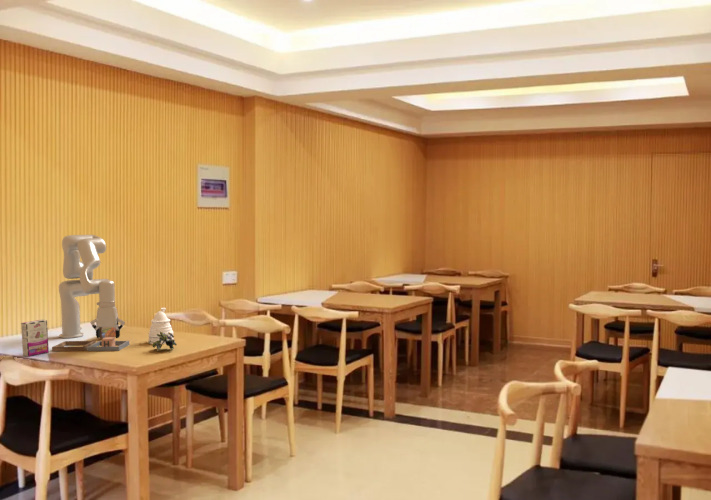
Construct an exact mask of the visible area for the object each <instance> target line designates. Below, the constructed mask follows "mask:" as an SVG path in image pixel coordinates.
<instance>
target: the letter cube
mask: <svg viewBox="0 0 711 500" xmlns="http://www.w3.org/2000/svg"><path fill="white" fill-rule="evenodd" d="M101 341H102V345H101V347H111V346H116V345H115V341H116V337H105V338H103V339H101Z"/></svg>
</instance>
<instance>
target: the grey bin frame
mask: <svg viewBox="0 0 711 500" xmlns="http://www.w3.org/2000/svg"><path fill="white" fill-rule="evenodd" d="M99 345H100V346H99ZM97 346H98V347H97ZM128 346H130V340H115V346H111V347H102V340H98V341H96V343H94V344H92V345H90V346H88V347H87V349H86V352H115V351H117V352H118V351H121V350H123V349H124V348H126V347H128Z"/></svg>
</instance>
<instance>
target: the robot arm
mask: <svg viewBox="0 0 711 500" xmlns="http://www.w3.org/2000/svg"><path fill="white" fill-rule="evenodd" d="M61 240H62V241H61V247H62V251H63V265H62V274H63V277H64V279H68V280H64V281H62V282H60V283H59V285H58V293H59V297H60V308H61V309H60V310H61V311H60V312H61V333H60V334H59V335H58V336H59V338H60V339H71V338H72V339H74V338H80V337H83V336H84V332H81V330H83V328H82V327H81V312H80V311H81V310H80V303H79V301H78V300H77V299H76V298H78V297H86V296H89V295H98V297H99V300H98V302H96V306H98V307H97V311H96V317H95V318H96V319H93V320H92V321H90V324H91V327H92V328H93V329H94V330H95V336H96V338H97V339H100V329H99V328H100V327H115V329H116V337H115V339H118V338H120V336H121V329H122V328H124V325H125V324H126V321H125V320H123V319H121V318H119V314H118V308H117V307H116V291H115V290H116V289H115V287H116V286H115V282H114V280H110V279H108V278H96V279H94V270H95V269H97V268H98V267H99V266H100V265H101V263H102V262H101V258H100V256H99V254H104V253H105V252H106V251H107V243H106V241H105V240H104V238H102V237H100V236H98V235H95V234H71V235H66V236H64V237H63V238H62V239H61ZM119 323H120V325H119Z"/></svg>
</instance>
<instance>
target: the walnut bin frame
mask: <svg viewBox="0 0 711 500" xmlns="http://www.w3.org/2000/svg"><path fill="white" fill-rule="evenodd" d="M96 342H97V341H96V340H64V341H63V342H60V343H58V344H55V345H54V346H52V347H51V352H81V351H82V352H84V351H87V347H88V346H90V345H92V344H94V343H96Z"/></svg>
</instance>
